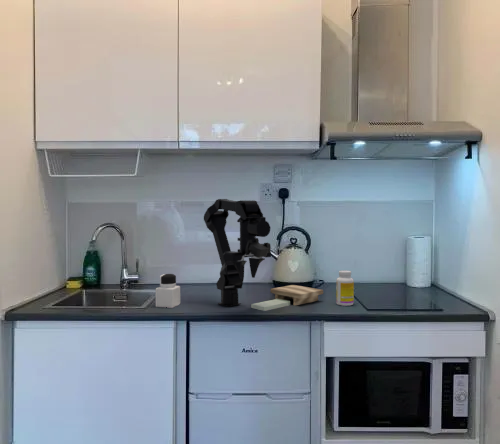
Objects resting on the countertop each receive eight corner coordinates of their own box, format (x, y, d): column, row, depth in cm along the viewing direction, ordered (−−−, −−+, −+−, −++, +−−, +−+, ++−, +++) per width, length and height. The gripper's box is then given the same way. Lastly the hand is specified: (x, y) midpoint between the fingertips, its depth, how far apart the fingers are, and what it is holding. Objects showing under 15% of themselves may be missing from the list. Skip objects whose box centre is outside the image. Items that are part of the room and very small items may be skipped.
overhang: (300, 306, 183) (300, 294, 183) (270, 300, 195) (270, 288, 194) (323, 301, 192) (323, 289, 192) (292, 295, 204) (293, 284, 204)
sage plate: (264, 311, 176) (264, 306, 176) (251, 308, 181) (251, 303, 181) (290, 305, 186) (290, 301, 185) (276, 302, 191) (276, 298, 191)
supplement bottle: (357, 305, 186) (357, 271, 185) (344, 306, 182) (344, 273, 182) (345, 301, 192) (346, 269, 191) (332, 303, 188) (332, 270, 188)
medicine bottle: (180, 304, 187) (180, 273, 187) (172, 308, 180) (172, 276, 180) (163, 303, 189) (163, 272, 189) (155, 306, 182) (155, 275, 182)
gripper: (243, 237, 162) (243, 284, 162) (281, 235, 174) (281, 278, 175) (222, 236, 170) (222, 280, 170) (260, 233, 182) (260, 274, 183)
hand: (247, 278), depth 175 cm, fingers open, 5 cm apart
